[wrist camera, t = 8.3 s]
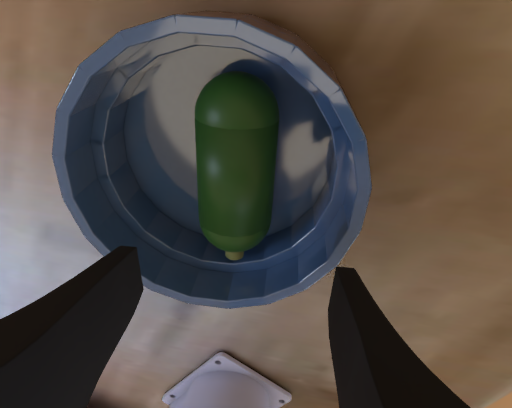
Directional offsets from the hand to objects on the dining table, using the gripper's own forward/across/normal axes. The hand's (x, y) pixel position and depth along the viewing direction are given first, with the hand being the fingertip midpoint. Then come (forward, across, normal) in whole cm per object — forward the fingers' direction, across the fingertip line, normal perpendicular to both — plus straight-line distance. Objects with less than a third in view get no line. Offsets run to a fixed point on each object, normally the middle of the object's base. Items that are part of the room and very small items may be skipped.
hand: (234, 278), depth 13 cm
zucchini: (+8, +2, -1) cm, 9 cm away
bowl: (+9, +2, -1) cm, 10 cm away
